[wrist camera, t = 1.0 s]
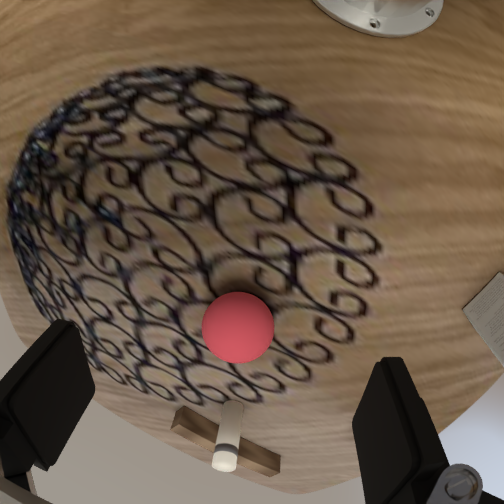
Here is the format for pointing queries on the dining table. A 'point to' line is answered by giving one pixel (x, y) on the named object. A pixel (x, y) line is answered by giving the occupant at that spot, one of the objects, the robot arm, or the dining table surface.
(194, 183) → the dining table surface
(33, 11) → the dining table surface
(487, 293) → the skincare box
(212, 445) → the board
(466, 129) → the dining table surface
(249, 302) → the ball
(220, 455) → the pin
